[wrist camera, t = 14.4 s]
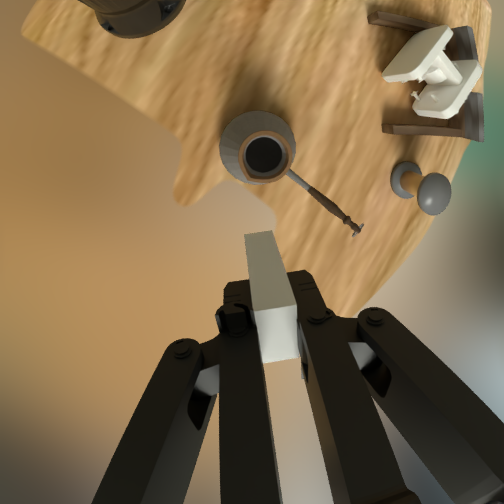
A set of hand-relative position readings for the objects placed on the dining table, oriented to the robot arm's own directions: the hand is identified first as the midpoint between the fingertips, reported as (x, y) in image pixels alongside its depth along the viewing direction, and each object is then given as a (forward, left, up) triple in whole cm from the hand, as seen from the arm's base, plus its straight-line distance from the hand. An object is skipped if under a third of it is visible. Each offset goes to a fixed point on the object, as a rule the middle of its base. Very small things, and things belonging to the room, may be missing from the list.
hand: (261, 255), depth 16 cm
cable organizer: (-15, +34, -33) cm, 49 cm away
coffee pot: (+1, +6, -33) cm, 33 cm away
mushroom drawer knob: (+6, +30, -32) cm, 45 cm away
